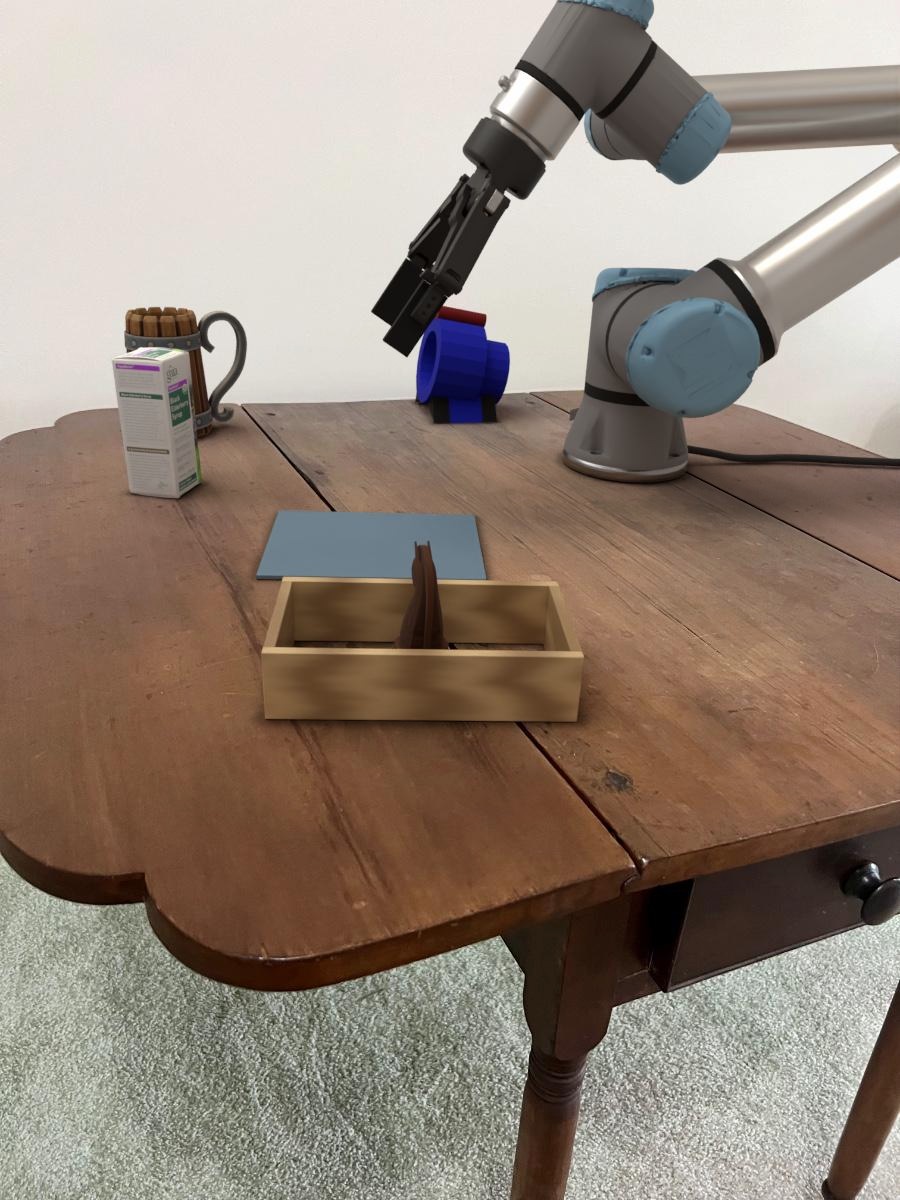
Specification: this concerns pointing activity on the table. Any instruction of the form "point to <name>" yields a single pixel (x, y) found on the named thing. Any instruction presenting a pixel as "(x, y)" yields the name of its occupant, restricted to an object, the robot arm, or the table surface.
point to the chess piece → (423, 607)
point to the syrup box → (157, 421)
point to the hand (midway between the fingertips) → (387, 333)
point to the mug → (185, 335)
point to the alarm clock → (461, 368)
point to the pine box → (421, 653)
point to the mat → (370, 545)
